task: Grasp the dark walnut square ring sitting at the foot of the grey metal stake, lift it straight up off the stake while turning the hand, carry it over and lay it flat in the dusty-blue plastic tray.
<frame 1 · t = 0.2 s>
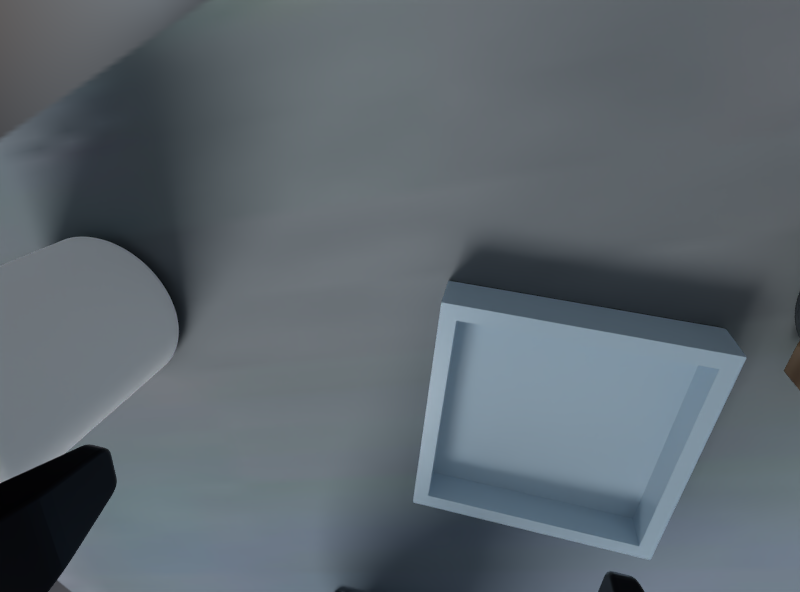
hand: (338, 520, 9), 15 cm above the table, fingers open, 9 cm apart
tray: (551, 409, 24), on the table
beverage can: (120, 302, 27), on the table
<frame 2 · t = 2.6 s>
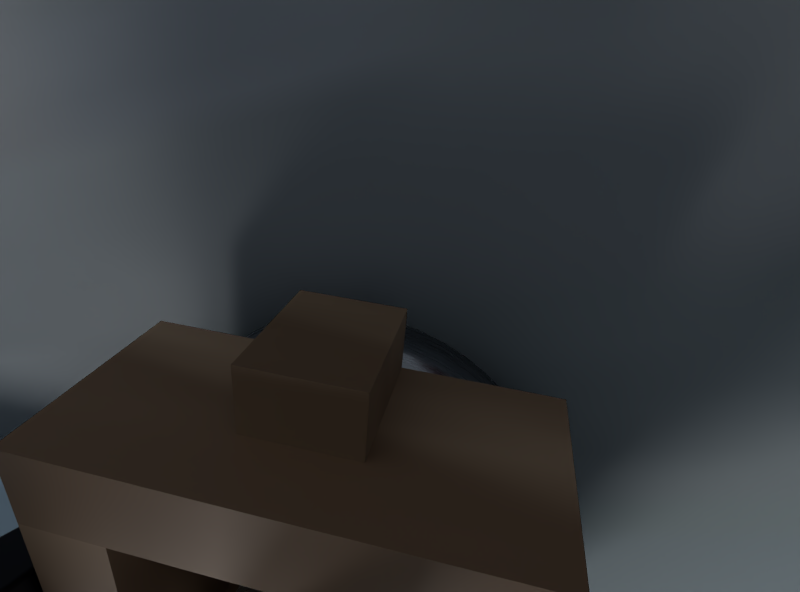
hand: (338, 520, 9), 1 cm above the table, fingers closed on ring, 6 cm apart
stake: (360, 466, 10), on the table
ring: (343, 505, 9), point 1 cm above the table, touching gripper, stake
when the fingers open (3 cm above the table, at t = 7.9 s): ring drops 2 cm, resting on tray.
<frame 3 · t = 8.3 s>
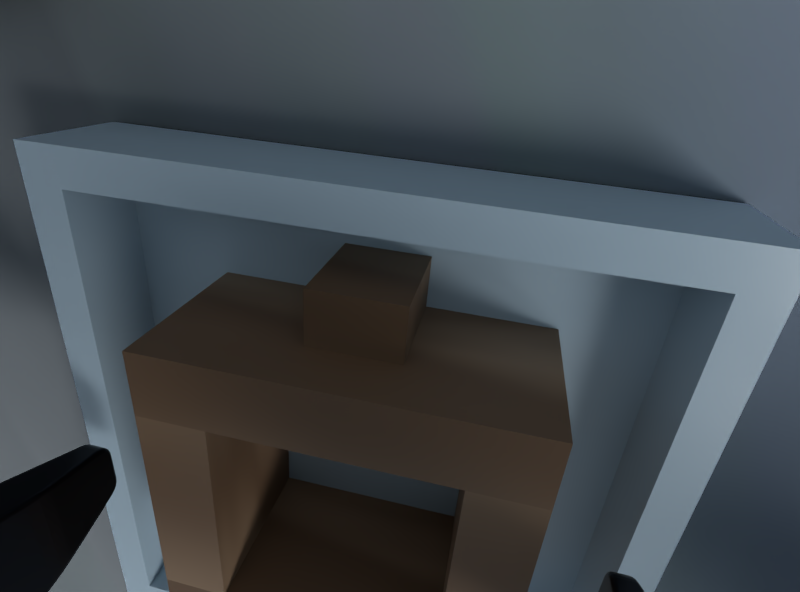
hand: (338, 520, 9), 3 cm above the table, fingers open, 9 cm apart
ring: (374, 430, 11), point 1 cm above the table, touching tray
tray: (379, 412, 12), on the table
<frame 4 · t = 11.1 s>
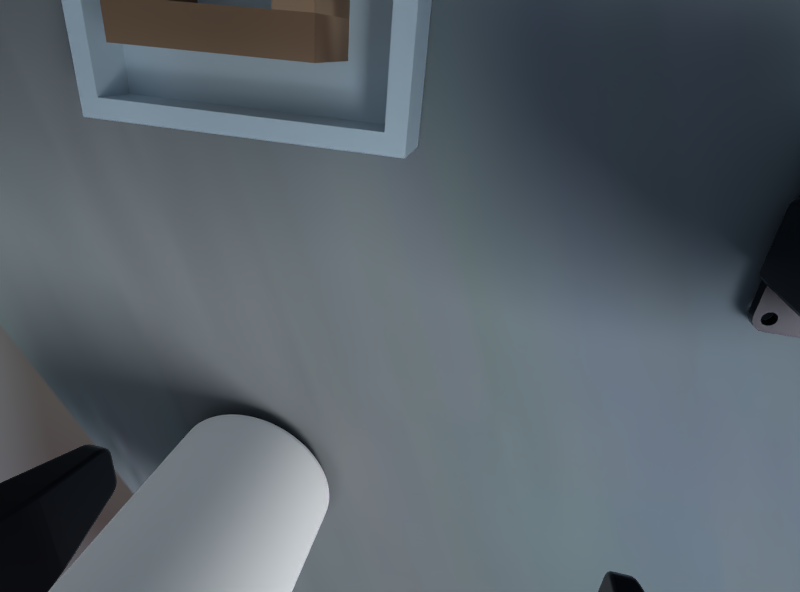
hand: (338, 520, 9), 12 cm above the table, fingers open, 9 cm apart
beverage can: (262, 466, 27), on the table
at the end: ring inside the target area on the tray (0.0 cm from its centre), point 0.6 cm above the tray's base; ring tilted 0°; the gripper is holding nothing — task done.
